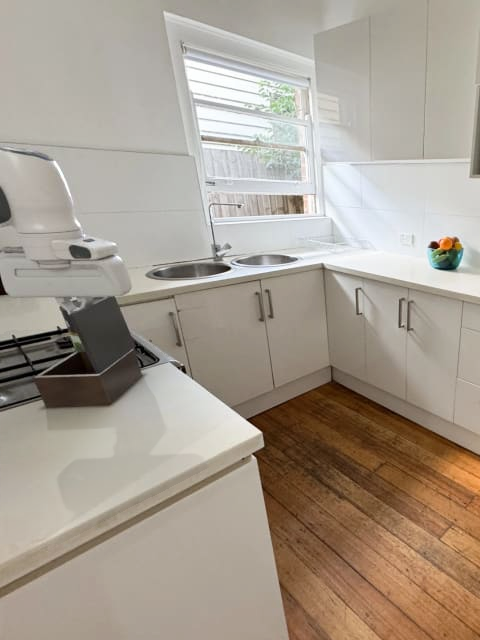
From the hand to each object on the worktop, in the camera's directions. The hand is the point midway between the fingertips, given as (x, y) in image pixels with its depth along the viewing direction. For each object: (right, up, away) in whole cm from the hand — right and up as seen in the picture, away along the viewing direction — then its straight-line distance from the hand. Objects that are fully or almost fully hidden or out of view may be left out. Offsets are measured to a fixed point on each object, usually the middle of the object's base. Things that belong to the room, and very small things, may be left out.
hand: (81, 317), depth 75 cm
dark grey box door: (+3, -3, +2) cm, 5 cm away
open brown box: (-2, -15, +6) cm, 17 cm away
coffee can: (-13, -9, +21) cm, 26 cm away
